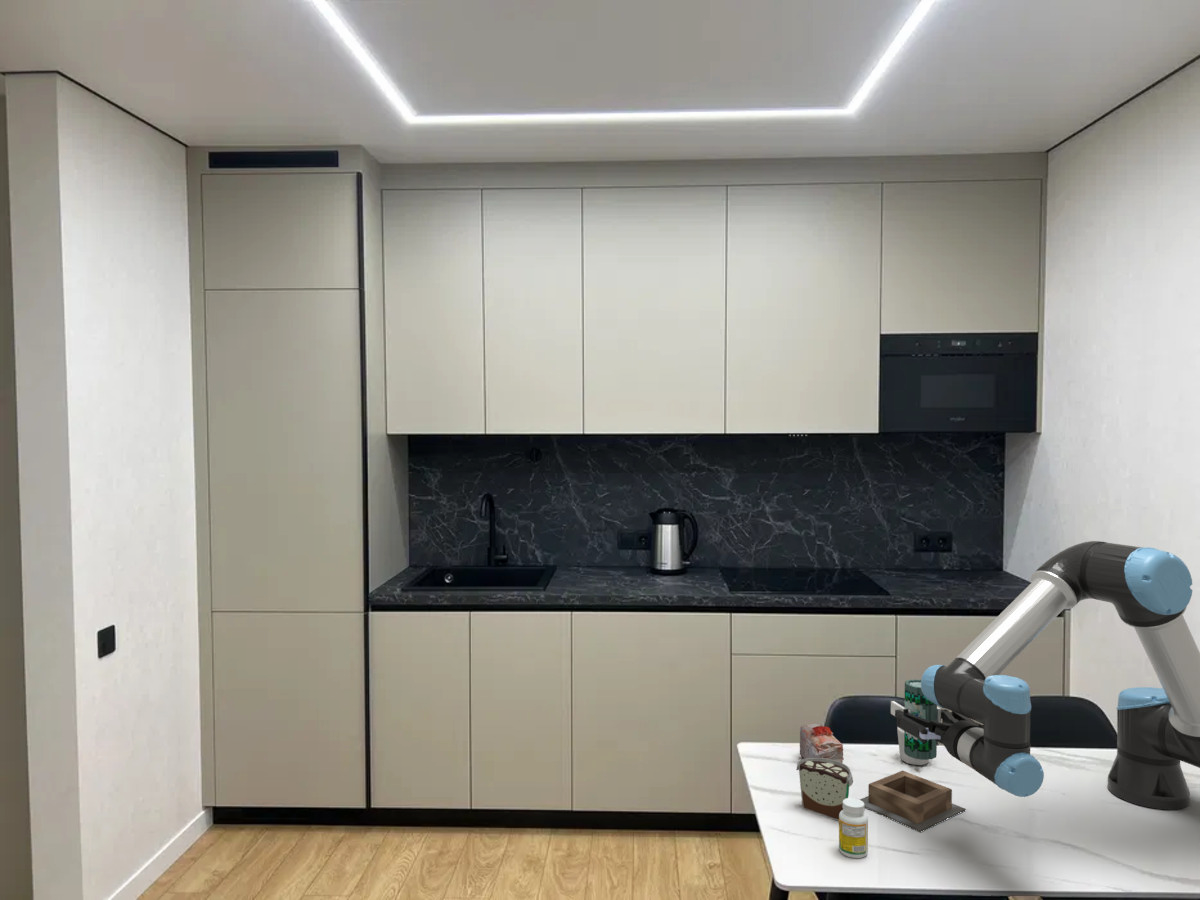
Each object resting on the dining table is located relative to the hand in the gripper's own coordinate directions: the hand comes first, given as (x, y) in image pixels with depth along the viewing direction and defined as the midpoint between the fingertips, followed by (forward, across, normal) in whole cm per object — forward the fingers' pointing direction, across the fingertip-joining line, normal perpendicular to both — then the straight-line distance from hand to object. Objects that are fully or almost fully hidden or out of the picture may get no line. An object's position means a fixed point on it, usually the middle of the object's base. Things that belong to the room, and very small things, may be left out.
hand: (907, 706), depth 184 cm
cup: (+17, +12, -20) cm, 29 cm away
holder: (-4, -2, -20) cm, 21 cm away
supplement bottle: (-19, -22, -21) cm, 36 cm away
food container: (-2, -19, -21) cm, 28 cm away
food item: (+20, -11, -21) cm, 31 cm away
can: (-5, 0, -9) cm, 10 cm away
